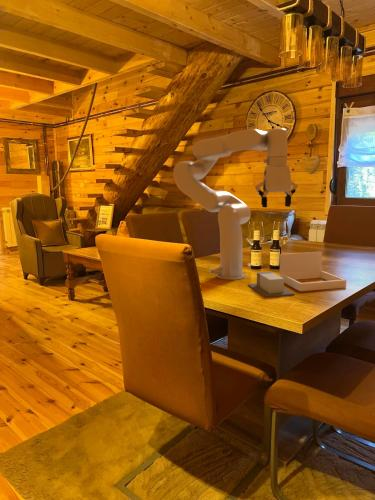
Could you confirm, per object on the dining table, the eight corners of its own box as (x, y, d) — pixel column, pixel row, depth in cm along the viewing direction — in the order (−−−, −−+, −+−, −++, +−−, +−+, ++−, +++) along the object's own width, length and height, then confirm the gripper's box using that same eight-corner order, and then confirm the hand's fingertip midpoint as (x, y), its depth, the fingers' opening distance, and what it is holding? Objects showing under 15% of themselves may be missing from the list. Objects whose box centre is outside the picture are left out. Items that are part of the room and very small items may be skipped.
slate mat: (265, 297, 130) (265, 295, 130) (248, 285, 146) (248, 284, 146) (294, 295, 132) (294, 293, 132) (274, 283, 149) (274, 282, 148)
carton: (300, 291, 136) (301, 262, 135) (279, 280, 153) (280, 254, 152) (346, 287, 140) (347, 259, 138) (320, 277, 157) (321, 251, 155)
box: (269, 293, 133) (269, 279, 132) (256, 285, 144) (256, 272, 144) (283, 292, 134) (284, 278, 133) (270, 284, 146) (270, 271, 145)
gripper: (259, 161, 138) (259, 208, 141) (302, 161, 141) (301, 206, 144) (252, 163, 146) (251, 207, 148) (293, 162, 149) (292, 205, 152)
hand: (276, 206), depth 146 cm, fingers open, 9 cm apart
